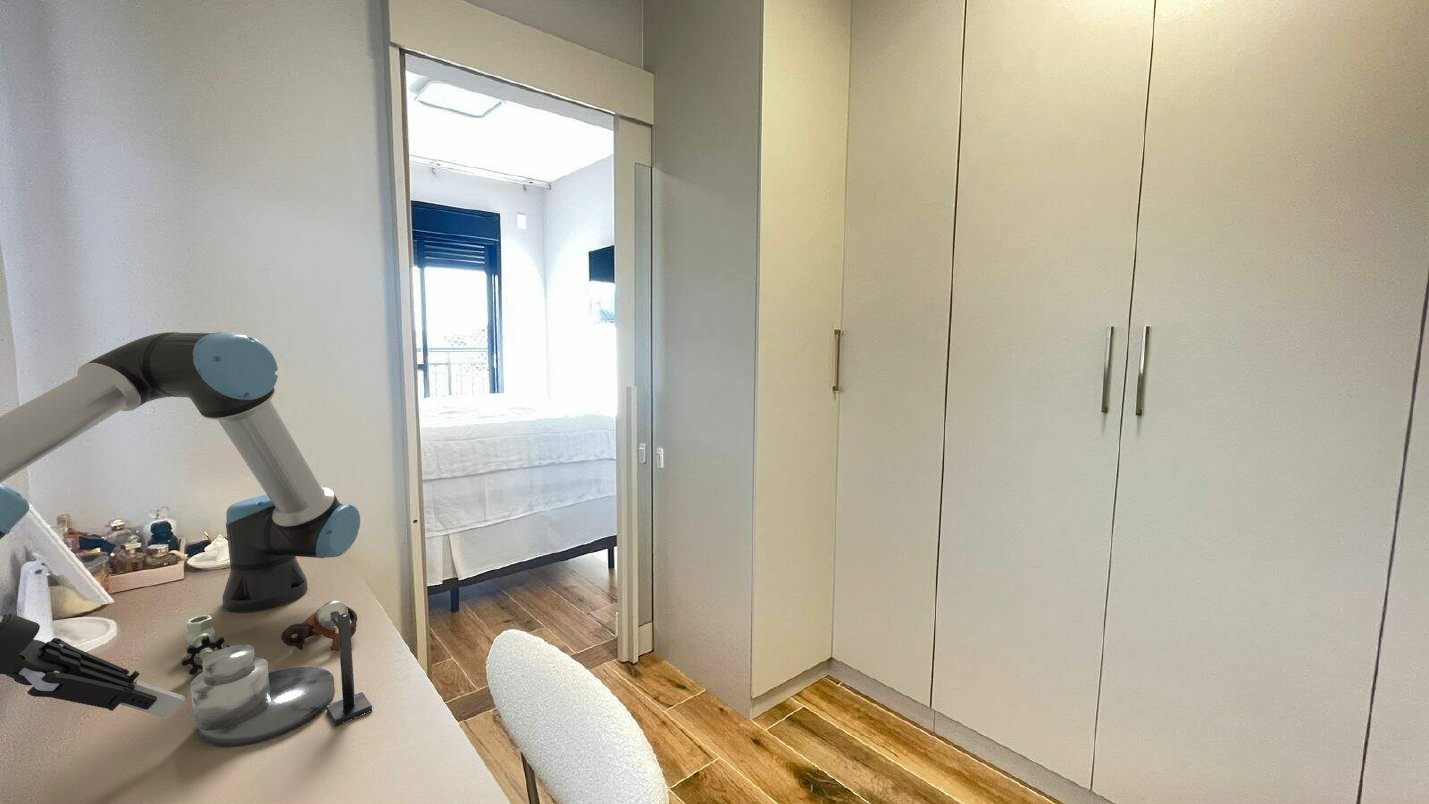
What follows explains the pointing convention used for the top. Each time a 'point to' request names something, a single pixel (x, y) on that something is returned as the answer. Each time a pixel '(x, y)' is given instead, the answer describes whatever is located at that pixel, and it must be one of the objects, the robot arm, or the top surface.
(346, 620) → the dial stand
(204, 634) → the valve
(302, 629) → the brown irregular ringed piece
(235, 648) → the cover
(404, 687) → the top surface
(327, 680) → the grey metal flat disc
